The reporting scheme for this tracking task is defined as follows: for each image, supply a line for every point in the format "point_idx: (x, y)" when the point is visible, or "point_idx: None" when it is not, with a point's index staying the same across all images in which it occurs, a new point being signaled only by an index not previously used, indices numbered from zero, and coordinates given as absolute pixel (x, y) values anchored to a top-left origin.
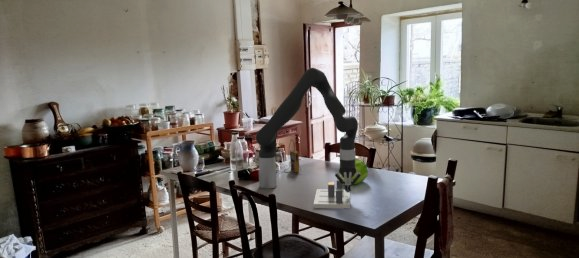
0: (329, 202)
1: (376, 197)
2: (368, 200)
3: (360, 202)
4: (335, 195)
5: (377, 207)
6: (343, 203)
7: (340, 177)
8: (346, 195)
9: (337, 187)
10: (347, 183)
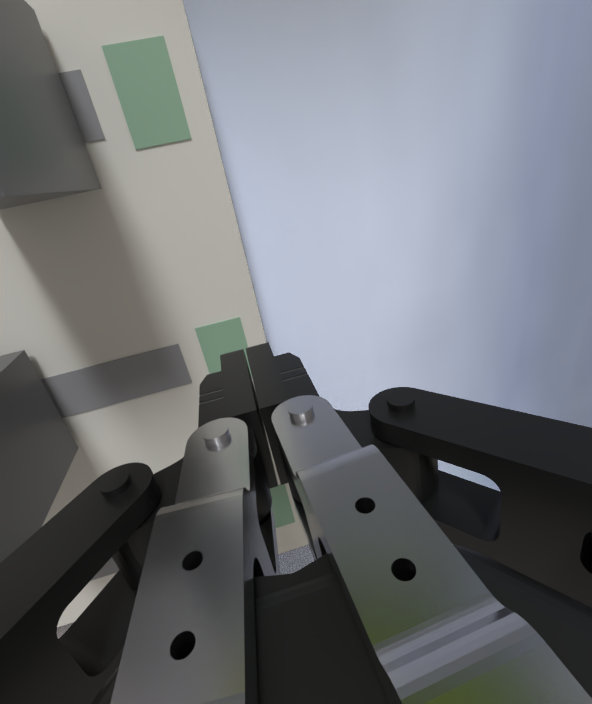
0: (98, 577)
1: (556, 115)
2: (460, 256)
3: (380, 342)
4: (51, 358)
5: (521, 409)
6: None
7: (28, 672)
8: (210, 309)
9: None
10: (269, 489)
